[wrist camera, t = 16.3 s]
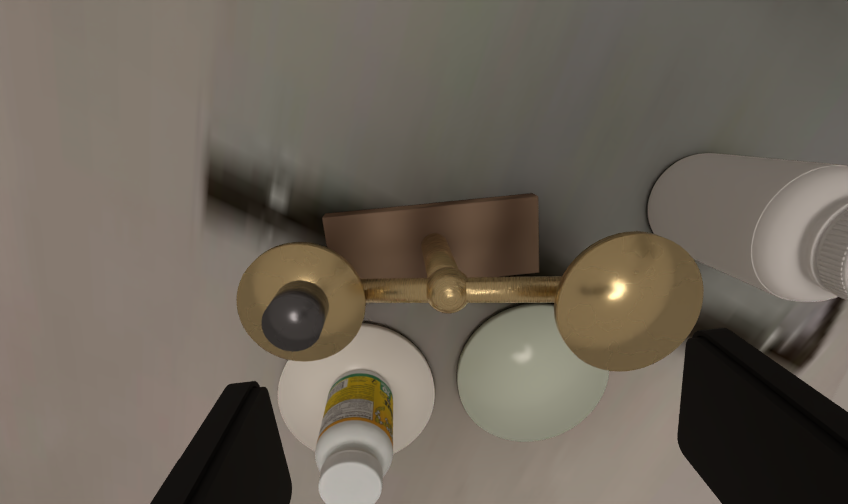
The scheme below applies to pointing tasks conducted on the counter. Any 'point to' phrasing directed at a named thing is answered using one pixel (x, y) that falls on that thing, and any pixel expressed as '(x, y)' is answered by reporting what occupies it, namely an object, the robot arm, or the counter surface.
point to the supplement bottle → (355, 439)
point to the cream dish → (367, 351)
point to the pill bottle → (759, 221)
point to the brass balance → (470, 280)
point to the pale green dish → (526, 377)
